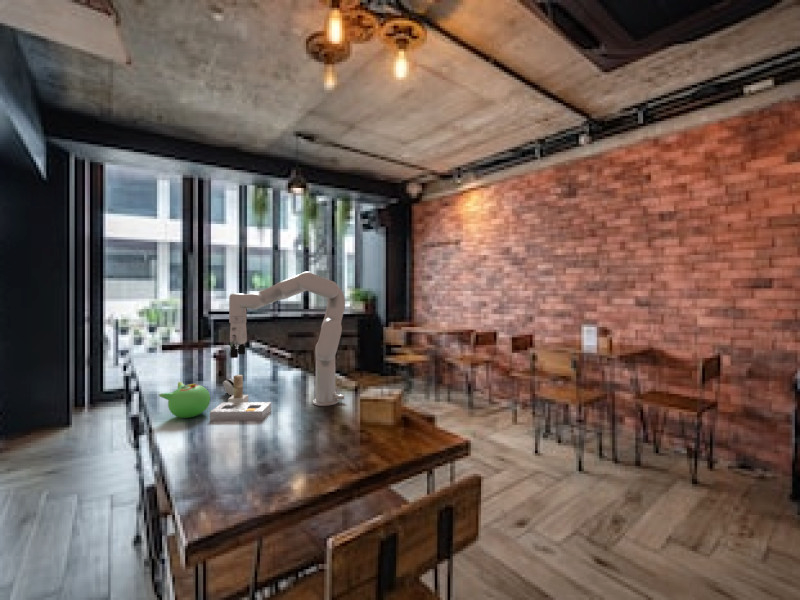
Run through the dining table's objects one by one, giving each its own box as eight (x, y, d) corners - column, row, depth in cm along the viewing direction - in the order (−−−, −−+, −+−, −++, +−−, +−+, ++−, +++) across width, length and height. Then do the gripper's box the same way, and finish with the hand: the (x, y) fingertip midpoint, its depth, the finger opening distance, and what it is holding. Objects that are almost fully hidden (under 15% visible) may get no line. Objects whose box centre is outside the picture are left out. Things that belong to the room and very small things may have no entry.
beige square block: (248, 405, 200) (248, 394, 200) (243, 409, 194) (243, 398, 193) (233, 405, 200) (233, 394, 200) (228, 409, 193) (228, 398, 193)
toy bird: (198, 423, 174) (197, 388, 174) (157, 423, 174) (157, 388, 174) (216, 410, 192) (216, 378, 192) (180, 410, 192) (179, 378, 192)
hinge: (246, 398, 213) (239, 380, 211) (237, 402, 211) (229, 385, 208) (236, 391, 226) (229, 375, 224) (227, 395, 224) (220, 379, 221)
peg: (244, 395, 199) (243, 374, 198) (241, 397, 195) (240, 376, 194) (235, 395, 199) (235, 374, 198) (232, 398, 195) (232, 376, 194)
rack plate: (271, 410, 191) (271, 401, 191) (262, 420, 177) (262, 411, 177) (222, 411, 191) (222, 402, 191) (209, 421, 177) (209, 411, 177)
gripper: (239, 321, 187) (239, 359, 188) (251, 318, 204) (251, 353, 205) (222, 321, 187) (222, 359, 187) (236, 318, 204) (236, 352, 205)
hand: (237, 355), depth 196 cm, fingers open, 9 cm apart
